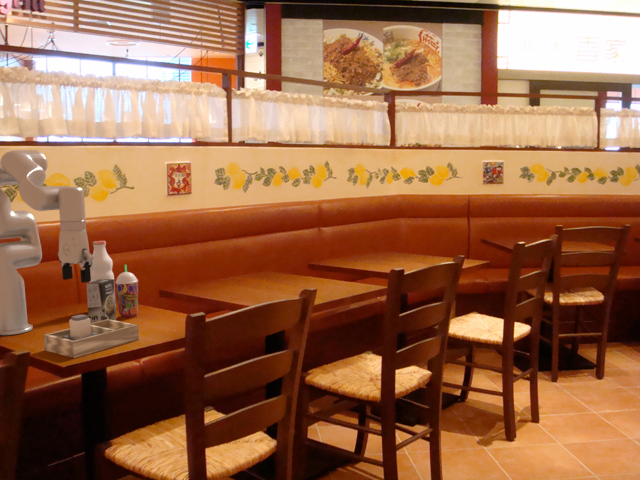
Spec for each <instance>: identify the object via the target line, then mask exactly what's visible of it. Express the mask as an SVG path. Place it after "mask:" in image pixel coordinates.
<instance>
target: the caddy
mask: <svg viewBox="0 0 640 480" xmlns="http://www.w3.org/2000/svg"><path fill="white" fill-rule="evenodd" d="M136 341H139V325H138V324H134V323H131V322H124V321H121V320H116V321H115V320H110V319H107V320H102V321H98V322H94V323H91V335H90V336H86V337H82V338H74V337H71V336H70V328H67V329H62V330H58V331H54V332H51V333H50V332H49V333H46V334H43V343H44V344H43V347H44V351H45V352H48V353H49V352H50V353H54V354H58V355H62V356H65V357H67V358H68V357H69V358H72V357H73V358H72V359H76V358H80V357H83V356H87V355H90V354H94V353H97V352H101V351H104V350H107V349H111V348H114V347H119V346H122V345H125V344H128V343H132V342H136Z"/></svg>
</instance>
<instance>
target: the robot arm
mask: <svg viewBox="0 0 640 480" xmlns="http://www.w3.org/2000/svg"><path fill="white" fill-rule="evenodd" d="M47 169H48V160H47V157H46V156H45V154H44V153H43V152H41V151H39V150H33V149H31V150H30V149H28V150H27V149H25V150H23V149H21V150H20V149H19V150H18V149H16V150H10V151H7V152H5V153H4V154H3V155H2V156H1V158H0V186H18V191H19V196H20V199H21V200H22V201H23V203H25V204H26V205H27V206H29V207H30V208H31V209H33V210H35V211H37V212H43V211H46V212H47V211H56V210H57V211H58V212H59V224H60V225H59V226H60V227H59V228H60V231H59V237H58V252H57V256H58V259H59V261H58V262H60V267H61V274H62V280H64V281H65V280H71V279H72V280H73V277H74V276H73V266H72V264H73V265H76V264H78V265H79V267H80V268H81V269H80V270H79V272H80V283H84V284H86V283H89V282H90V281H91V273H90V269H91V266H92V261H93V254H92V253H91V252H90V247H89V238H88V233H87V225H86V223H87V222H86V221H87V220H86V207H85V206H86V205H85V191H84V189H83V188H82V187H80V186H69V185H48V186H46V185H45V186H43V184H44V183H45V181H46V178H47V177H46V176H47V175H46V171H47ZM16 238H17V239H18V238H19V239H20V240H18V241H10V242H9V241H8V242H1V243H0V336H11V335H13V336H14V335H19V334H23V333H28V332H29V331H32V330H33V328H34V327H33V324H32V323H31V324H30V323H28V314H27V313H28V312H27V300H26V298H27V297H26V291H25V289H26V287H25V280H24V278H23V277H22V275H21V274H20V273H19V271H17V269H22V268H28V267H34V266H37V265H39V264H40V263H41V261H42V259H43V252H42V251H43V250H42V243H41V239H40V235H39V229H38V224H37V221H36V218H35V217H34V215H33V214H32V212H30V211H27V210H13V208H12V206H11V199H10V197H9V195H8V194H7V193H6V192H5V191H4V190H3V189H2V188H1V187H0V240H7V239H16Z"/></svg>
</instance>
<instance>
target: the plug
mask: <svg viewBox="0 0 640 480" xmlns="http://www.w3.org/2000/svg"><path fill="white" fill-rule="evenodd" d="M68 323H69V329H70V336H71V337H74V338H82V337H86V336H90V335H91V322H90V318H88V314H87V315H86V314H77V315H73V316H71V318H70V319H69V322H68Z"/></svg>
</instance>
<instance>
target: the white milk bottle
mask: <svg viewBox="0 0 640 480" xmlns="http://www.w3.org/2000/svg"><path fill="white" fill-rule="evenodd" d="M106 245H107V242H106V240H94V241H92V246H93V252H92V255H93V261H92V266H91V269H90V273H91V281H90V282H92V281H96V280H99V279H114V280H115V274H114V272H113V267H114V266H113V265H114V261H113V259H112V258H111V257H110V255H109V253H108V252H107V248H106ZM114 290H115V291H116V284H114ZM115 306H116V307H117V303H116V299H115Z"/></svg>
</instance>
